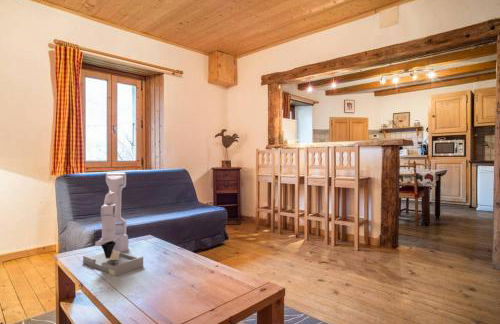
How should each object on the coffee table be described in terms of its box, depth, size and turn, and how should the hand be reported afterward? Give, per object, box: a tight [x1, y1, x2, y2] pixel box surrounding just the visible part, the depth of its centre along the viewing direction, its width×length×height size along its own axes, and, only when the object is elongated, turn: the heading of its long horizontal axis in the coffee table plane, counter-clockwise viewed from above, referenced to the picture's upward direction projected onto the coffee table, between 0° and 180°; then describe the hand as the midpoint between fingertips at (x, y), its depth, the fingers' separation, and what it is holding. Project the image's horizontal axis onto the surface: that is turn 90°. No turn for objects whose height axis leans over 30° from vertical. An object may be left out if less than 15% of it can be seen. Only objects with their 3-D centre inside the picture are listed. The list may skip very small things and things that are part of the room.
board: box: [82, 250, 144, 277], centre depth 140 cm, size 14×28×4 cm, turn 57°
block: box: [106, 250, 120, 260], centre depth 141 cm, size 4×4×4 cm
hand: (108, 257), depth 139 cm, fingers closed, pressing on block
